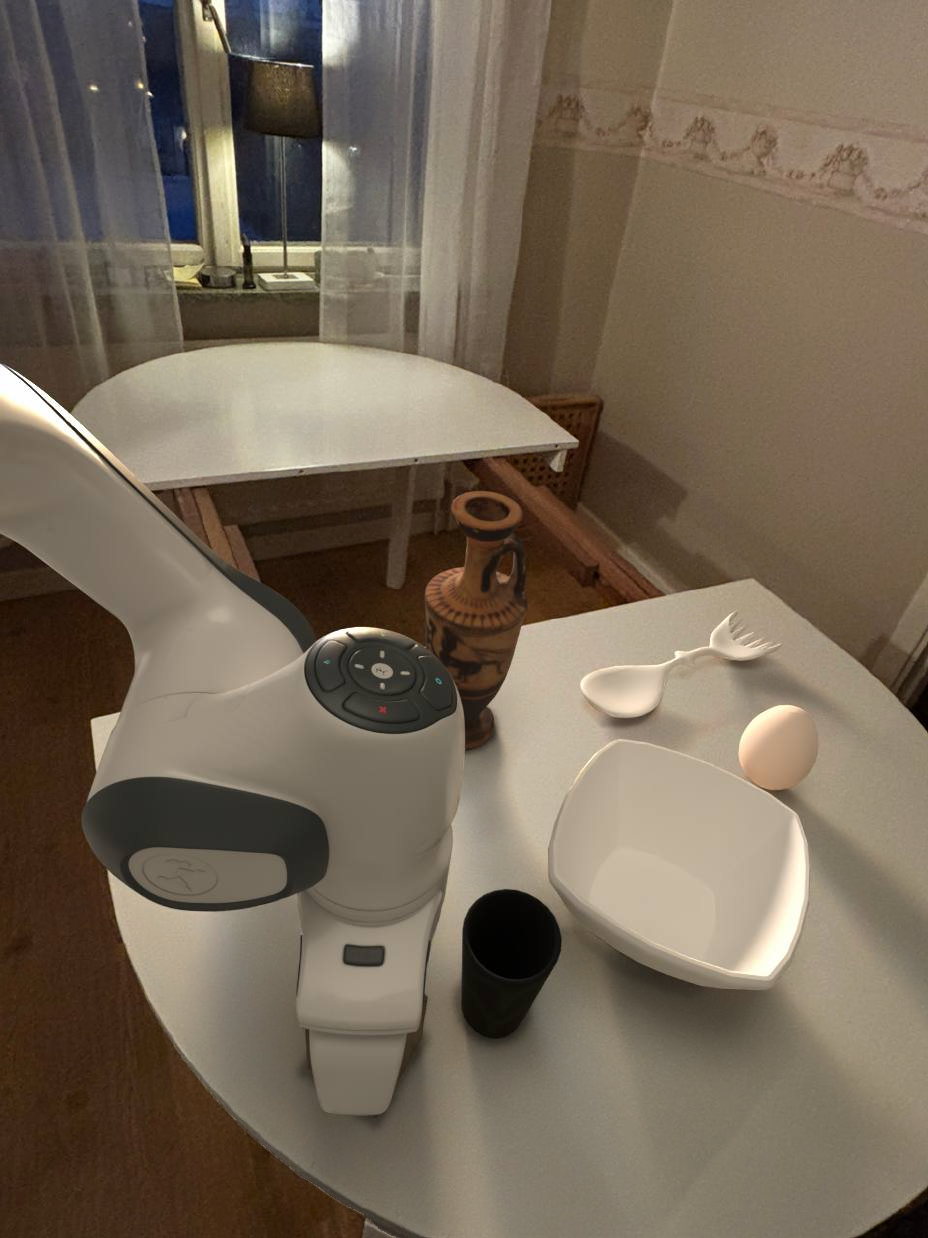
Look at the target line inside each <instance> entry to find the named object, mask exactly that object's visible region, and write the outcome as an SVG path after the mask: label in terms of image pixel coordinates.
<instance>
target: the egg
mask: <svg viewBox="0 0 928 1238" xmlns="http://www.w3.org/2000/svg"><path fill="white" fill-rule="evenodd" d="M818 754H819V733H818V730H817V725H816V723H815V721H814V719H812V717H811V715H810V714H809V713H808V712H807V711H805V710H804V709H802V708H801V707H798V706H795V705H791V704H785V705H783V704H781V705H775V706H773V707H771V708H768V709H766V710H764V711H763V712H761V713H759V714H758V715H757V716H756V717H754V718H753V719H752V720H751V721H750V723H749V724H748V725H747V726H746V727H745V729H744V731H743V733H742V735H741V738H740V740H739V746H738V759H739V764H740V767H741V768H742V771H743V773H744V774H745V776H746V777H747V778H748V779H749V780H750V781H751V782H752V784H753V785H755V786H757V787H759V788H761V789H765V790H770V791H781V790H786V789H788V788H792V787H794V786H796V785H798V784H799V783H801V782H802V781H803V780H804V779H805V778H806V777H807V776H808V775H809V774H810V773H811V771H812V768H813V767H814V765H815V763H816V760H817V758H818Z"/></svg>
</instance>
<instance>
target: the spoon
mask: <svg viewBox="0 0 928 1238" xmlns="http://www.w3.org/2000/svg"><path fill="white" fill-rule="evenodd" d="M738 614H739V611H738V610H736V611H733V612H732V613H730V614H729V615H728V616H726V617H725V618H724V619H723V620H722V621H721V622H720V624H718V625H717V626H716V627H715V628H714V629H713V631H711V634H710V640H709V646H701V647H698V648H695V649H693V650H689V651H682V650H676V651H675V652H674V657H675V658H673V659H671V660H669V661H666V662H664V663H661V664H653V665H650V664H649V665H614V666H609V667H605V668H604V667H603V668H600V669H597V670H594V671H591V672H589V673H587V674H586V675H585V676H584V677H583V678H582V679H581V682H580V684H579V685H580V686H579V687H580V692H581V695H582V696H583V698H584V699H585V701H586V702H587V703H588V704H589V706H591V707H592V708H593V709H595V710H596V711H598V712H600V713H602V714H604V715H607V716H610V717H614V718H621V719H629V718H630V719H632V718H637V717H641V716H644V715H646V714H648V713H650V712H651V711H653V710H654V709H655V708H657V707H658V705H659V704H660V703H661V700H662V698H663V696H664V692H665V688H666V683H667V679H668V676H669V674H670V673H671V671H672V670H673V669H674V668H676V667H678V666H679V667H680V666H685V667H688V668H690V667H694V665H695V664H696V663H695V661H696V660H697V659H699V658H701V657H704V656H711V657H716V658H720V659H724V660H728V661H738V662H744V661H751V660H754V659H758V658H761V657H763V656H767V655H770V654H773V653H775V652H777V651H778V650H780V648H782V646H783V644H782V643H778V644H776V645H773V646H771V644H773V640H770V641H768V642H765V643H764V644H763V642H764V641H765V639H766V637H761V638H759V639H757V640H755V641H753V642H751V643H749V642H750V641H751V640H752V639H753V638H754V637H755V636H756V634H757V632H756V631H752V632H749V633H746V634H744V635H743V636H739V635H740V634H742V633H743V632H744V631H745V630H746V629H747V628H748V626H749V624H744V625H742V626H741V627H739V628H737V627H738V626H739V625H740V624H741V623H742V622H743V620H744V619H743V618H739V619H737V620H735V621H734V622H732V621H733V620H734V619H735V618H736V617H737V616H738ZM735 628H736V629H735ZM737 637H738V638H737ZM748 643H749V644H748ZM761 643H762V644H761ZM760 644H761V645H760Z"/></svg>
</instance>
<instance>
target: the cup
mask: <svg viewBox="0 0 928 1238" xmlns="http://www.w3.org/2000/svg"><path fill="white" fill-rule="evenodd" d="M562 943H563V939H562V933H561V927H560V925H559V923H558V921H557V919H556V916H555V915H554V913H553V912H552V911H551V909H550V908H549V907H548V906H547V905H546V904H545V903H543V902H542V901H541V900H540V899H539V898H537V897H536V896H533V895H532V894H530V893H528V892H526V891H521V890H519V889H511V888H504V889H502V888H501V889H496V890H492V891H490V892H487V893H485V894H483V895H482V896H480V897H479V898H477V899H476V900H475V901H474V902H473V903H472V904H471V906H470V907H469V908H468V910H467V912H466V914H465V916H464V918H463V925H462V930H461V983H460V984H461V986H460V987H461V991H460V993H461V994H460V995H461V996H460V1005H461V1006H460V1007H461V1013H462V1015H463V1018H464V1020H465V1022H466V1023H467V1026H469V1027H470V1029H472V1030H473V1031H474V1033H477V1035H480V1037H484V1038H487V1039H493V1040H498V1039H505V1038H507V1037H509V1036H511V1035H512V1034H514V1033H515V1032H516V1031H517V1030H518V1029H519V1027H520V1026H521V1024H522V1023H523V1021H524V1020H525V1018H526V1017H527V1015H528V1013H529V1011H530V1009H531V1007H532V1006H533V1004H534V1003H535V1001H536V999H537V997H539V994H540V992H541V991H542V989H543V987H544V985H545V984H546V982H547V980H549V979H548V978H549V977H550V975H551V974H552V973H553V970H554V968H555V967H556V965H557V963H558V962H559V958H560V955H561V952H562V945H563V944H562Z"/></svg>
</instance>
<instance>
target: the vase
mask: <svg viewBox="0 0 928 1238" xmlns="http://www.w3.org/2000/svg"><path fill="white" fill-rule="evenodd" d="M450 510H451V515H452V517H453V519H454V520H453V521H454V522H455V523H456V526H457V528H458V530H459V531H460V532H461V534H462V535H464V536H465V537H466V549H465V559H464V565H463V566H462V567H453V568H451V569H447V570H444V571H442V572H440V573H438V574H436V575H435V576H434V577H432V578H431V580H430V581H428V583H427V585H426V587H425V590H424V604H425V648H427V649H428V650H429V651H430V652H431V653H432V654H434V655H435V656H436V657H437V658H438V659H439V660H440V661H441V662H442V664H443V665H444V666H445V667H446V669H447V670H448V672H449V673H450V675H451V676H452V678H453V680H454V682H455V685H456V687H457V690H458V692H459V695H460V698H461V702H462V707H463V712H464V721H465V750H470V749H475V748H478V747H480V746H482V745H483V744H485V743H486V742H487V741H488V740H489V739H490V738H491V737H492V736H493V734H494V730H495V725H496V724H495V716H494V713H493V711H492V709H491V708H490V707H488V706H489V704H491V702H492V701H493V700H494V699H495V698H496V696H497V694H498V693H499V692H500V690H501V688H502V686H503V684H504V682H505V680H506V678H507V676H508V673H509V671H510V668H511V665H512V663H513V659H514V656H515V653H516V648H517V644H518V641H519V637H520V633H521V630H522V625H523V622H524V619H525V617H526V612H527V610H528V607H529V606H528V604H529V603H528V600H529V599H528V596H527V594H526V590H525V588H526V579H527V557H526V552H525V548H524V544H523V542H522V539H521V537H519V535H517V533H514V531H515V530H516V529H517V528H518V526H519V525H520V524H521V521H522V520H523V518H524V512H523V508H522V507H521V505H520V504H519V503H517V502H516V501H515V500H513V498H511V497H509V496H506V495H504V494H502V493H499V492H494V491H485V490H475V491H468V492H465V493H463V494H459V495H458V496H457V497H456V498H455V499H453V500H452V504H451V507H450ZM509 552H513V557H512V559H513V560H512V569H511V573H510V575H509V576H508V575H507V574H505V573H502V572H500V571H498V569H499V566H500V564H501V562H502V559H503V558H504V557H505V556H506V555H507V554H508V553H509Z"/></svg>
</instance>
